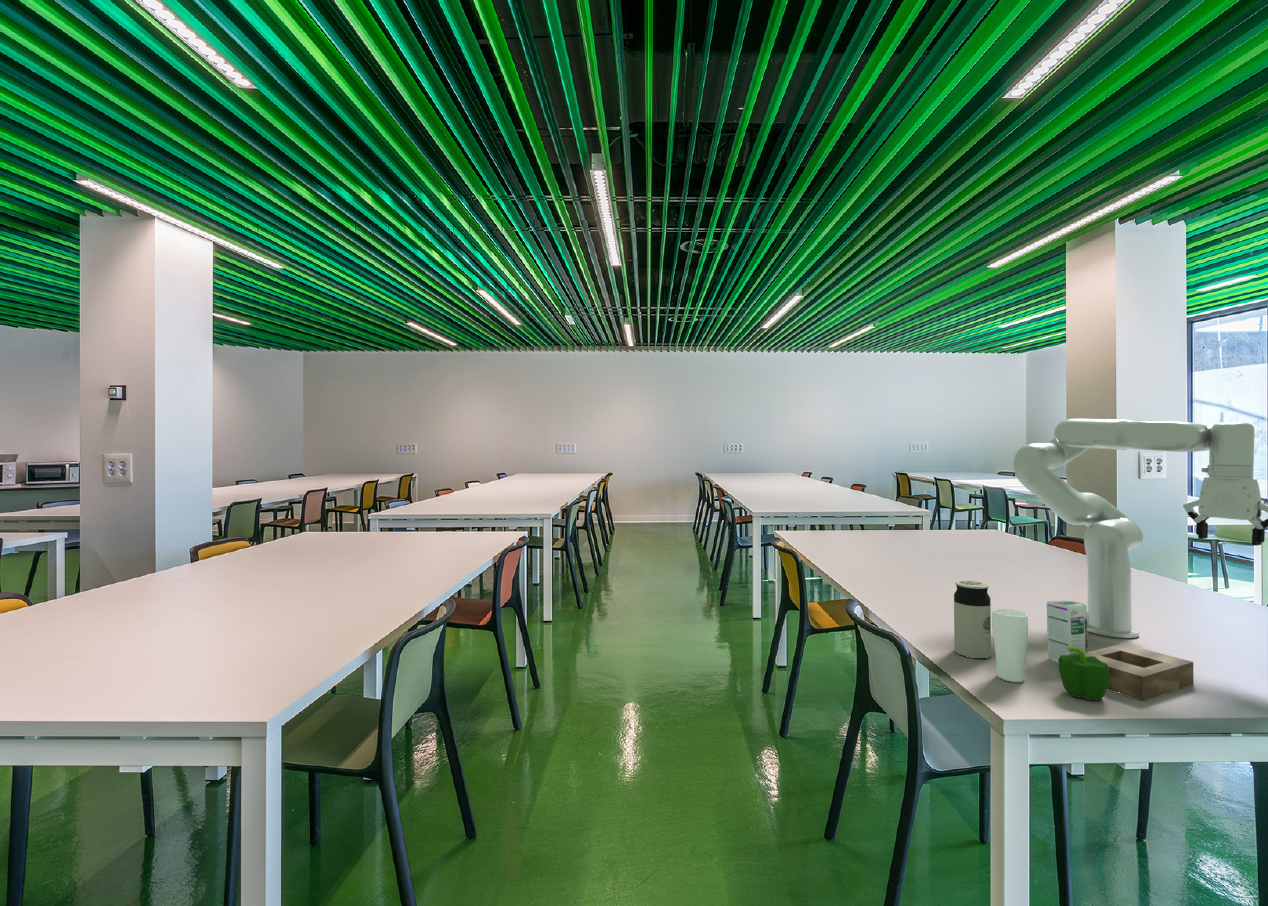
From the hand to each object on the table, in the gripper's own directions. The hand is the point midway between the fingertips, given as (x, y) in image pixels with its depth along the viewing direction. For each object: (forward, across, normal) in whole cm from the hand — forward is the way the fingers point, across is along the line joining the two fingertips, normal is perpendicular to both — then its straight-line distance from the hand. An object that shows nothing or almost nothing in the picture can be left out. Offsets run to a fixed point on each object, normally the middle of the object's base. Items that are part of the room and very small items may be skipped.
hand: (1228, 541), depth 139 cm
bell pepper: (+29, -2, -57) cm, 64 cm away
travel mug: (+30, -28, -54) cm, 68 cm away
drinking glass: (+30, -14, -62) cm, 70 cm away
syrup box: (+30, -15, -38) cm, 51 cm away
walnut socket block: (+29, -2, -39) cm, 48 cm away
